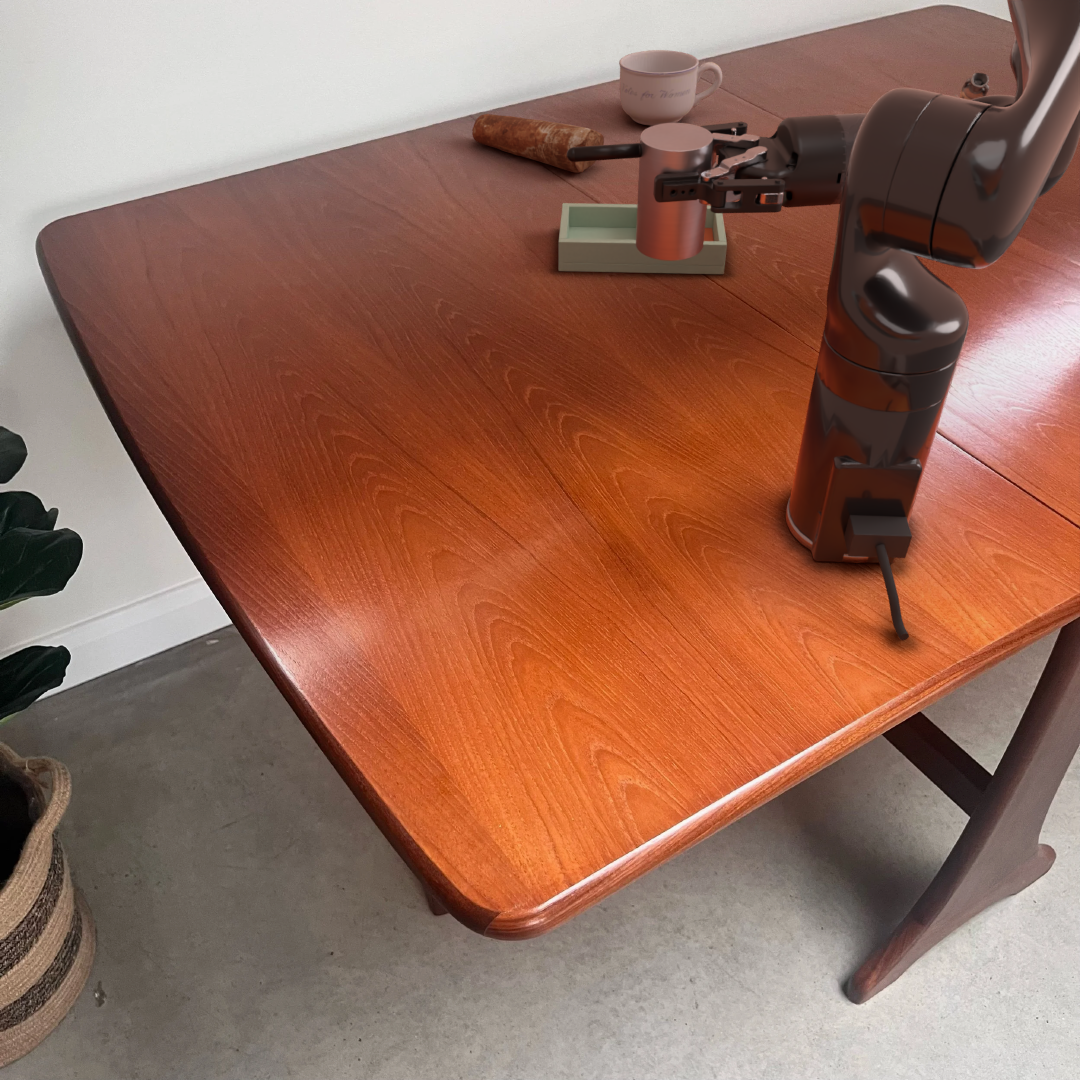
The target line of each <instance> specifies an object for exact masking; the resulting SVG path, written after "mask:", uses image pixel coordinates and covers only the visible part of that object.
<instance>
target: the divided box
mask: <svg viewBox="0 0 1080 1080" xmlns="http://www.w3.org/2000/svg"><path fill="white" fill-rule="evenodd" d="M710 209H711V205H707V211H706V222H705V233H704V244H703V249H702V250H701V252H700V253H698V254H697V255H695V256H693V257H691V258H687V259H683V260H674V261H669V260H659V259H654V258H651V257H648V256H646V255H644V254H642V253H641V252H640V251H639V250H638V249H637V247H636V225H637V203H636V204H635V203H586V202H585V203H584V202H583V203H581V202H580V203H578V202H577V203H575V202H563V203H562V205H561V216H560V222H559V223H560V225H559V235H558V259H557V260H558V263H557V264H558V268H557V269H558V272H584V273H585V272H587V273H588V272H589V273H590V272H592V273H639V274H640V273H641V274H681V275H682V274H689V275H724V274H725V265H726V258H727V257H726V255H727V249H728V241H727V237H726V236H727V235H726V228H725V223H724V221H725V220H724V213H713V212H711V210H710Z"/></svg>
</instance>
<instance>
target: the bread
mask: <svg viewBox="0 0 1080 1080" xmlns="http://www.w3.org/2000/svg"><path fill="white" fill-rule="evenodd" d="M471 132H472V134H471V136H472V139H473V140H474V141H475V142H477V143H479V144H482V145H484V146H488V147H491V148H495V149H498V150H501V151H502V152H505V153H508V154H512V155H515V156H517V157H522V158H526V159H529V160H533V161H537V162H540V163H543V164H546V165H550V166H552V167H555V168H558V169H561V170H563V171H564V170H565V171H568V172H571V173H576V174H578V173H583V172H584V171H585V170H587V169H588V168H590V167H592V166H593V165H594V164H595V163H596V161H582V162H571V161H569V160H568V158H567V151H568V150H569V149H570V148H572V147H583V146H599V145H605V138H604V135H603V134H602V133H601V132H598V131H597V130H595V129H592V128H588V127H584V126H578V125H573V124H569V123H561V122H556V121H555V122H553V121H549V120H548V121H547V120H541V119H534V118H533V119H532V118H523V117H518V116H513V115H499V114H491V113H484V114H481V115H480V116H478V117H477V118H476V119H475V120H474V123H473V127H472V130H471Z"/></svg>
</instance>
